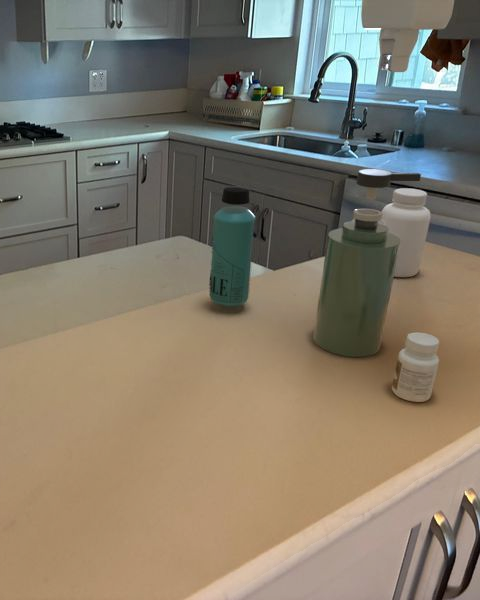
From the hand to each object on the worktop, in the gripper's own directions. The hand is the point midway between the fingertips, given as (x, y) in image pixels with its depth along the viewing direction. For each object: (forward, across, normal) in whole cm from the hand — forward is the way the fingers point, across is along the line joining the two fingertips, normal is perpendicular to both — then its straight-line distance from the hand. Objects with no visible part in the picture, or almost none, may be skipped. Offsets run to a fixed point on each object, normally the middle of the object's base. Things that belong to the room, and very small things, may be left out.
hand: (392, 70), depth 75 cm
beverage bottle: (+37, +11, +16) cm, 42 cm away
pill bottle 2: (+37, -14, -4) cm, 40 cm away
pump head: (+16, 0, -2) cm, 16 cm away
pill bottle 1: (+37, +30, -16) cm, 50 cm away
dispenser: (+37, 0, 0) cm, 37 cm away
